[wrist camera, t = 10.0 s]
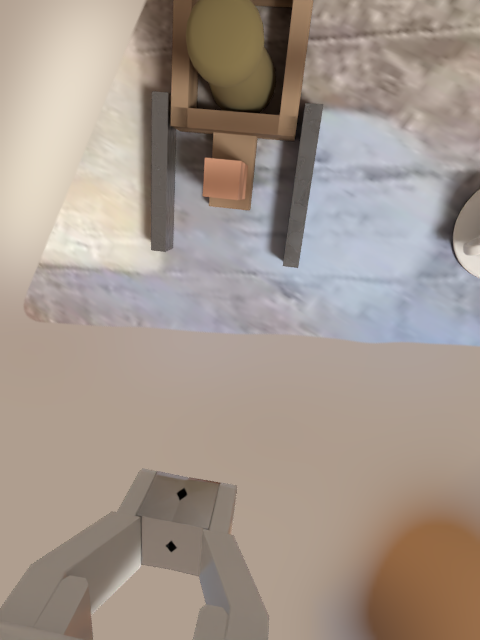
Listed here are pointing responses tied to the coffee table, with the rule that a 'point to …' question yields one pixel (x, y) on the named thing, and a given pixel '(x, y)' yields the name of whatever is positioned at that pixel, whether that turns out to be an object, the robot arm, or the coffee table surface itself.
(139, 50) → the coffee table surface
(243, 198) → the frame
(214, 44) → the cork
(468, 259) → the teacup
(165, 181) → the lane rails
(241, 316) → the coffee table surface
